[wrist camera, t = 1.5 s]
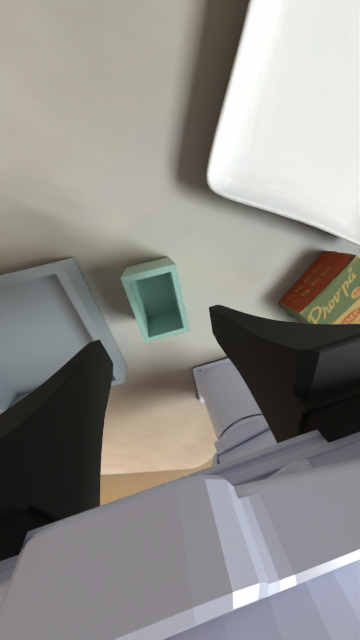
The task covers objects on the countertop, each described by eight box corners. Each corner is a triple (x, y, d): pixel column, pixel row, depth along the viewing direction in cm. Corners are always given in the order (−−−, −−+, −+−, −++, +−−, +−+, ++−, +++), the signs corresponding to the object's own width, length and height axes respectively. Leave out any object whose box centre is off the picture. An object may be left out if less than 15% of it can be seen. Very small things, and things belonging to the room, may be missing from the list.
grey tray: (74, 257, 16) (60, 261, 14) (127, 365, 23) (124, 382, 21) (-86, 295, 15) (-134, 308, 13) (19, 396, 22) (2, 418, 20)
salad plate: (192, 197, 16) (203, 188, 13) (313, -362, 8) (425, -760, 5) (346, 248, 22) (378, 251, 19) (516, -39, 13) (627, -121, 10)
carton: (327, 346, 30) (353, 362, 26) (274, 302, 23) (298, 315, 20) (369, 309, 27) (405, 321, 24) (323, 249, 21) (361, 252, 17)
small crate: (168, 256, 18) (175, 263, 13) (180, 310, 21) (189, 330, 17) (126, 267, 18) (120, 277, 13) (145, 320, 21) (145, 343, 16)
